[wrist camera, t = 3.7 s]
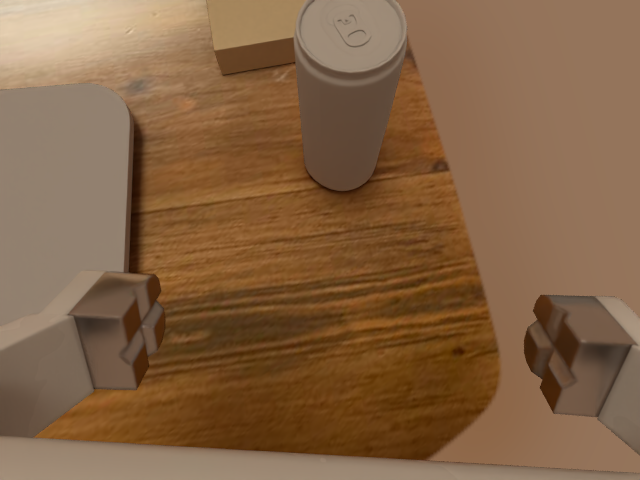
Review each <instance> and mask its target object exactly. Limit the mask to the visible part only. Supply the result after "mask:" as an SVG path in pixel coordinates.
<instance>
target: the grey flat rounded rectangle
mask: <svg viewBox="0 0 640 480" xmlns="http://www.w3.org/2000/svg"><path fill="white" fill-rule="evenodd" d="M133 149H134V121H133V117H132V114H131V112H130V109H129V108H128V106H127V105H126V104H125V102H124V101H123V99H122V98H121V97H120V96H119V95H118V94H117V93H116V92H114V91H113V90H111V89H109V88H107V87H105V86H102V85H98V84H92V83H79V84H66V85H54V86H41V87H28V88H16V89H3V90H0V326H2V325H5V324H7V323H10V322H12V321H14V320H17V319H19V318H21V317H24V316H26V315H28V314H31V313H33V314H39V313H40V312H41V311H42V310H43V309H44V308H45V307H46V306H47V305H48V304H49V303H50V302H51V301H52V300H53V299H54V298H55V297H56V296H57V295H58V294H59V293H60V292H61V291H62V290H63V289H64V288H65V287H66V286H67V285H68V284H69V283H70V282H71V281H72V280H73V279H74V278H75V277H76V276H77V275H78V274H79V273H80V272H81V271H84V270H103V271H116V272H129V252H130V226H131V201H132V175H133Z"/></svg>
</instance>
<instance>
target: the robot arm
mask: <svg viewBox="0 0 640 480" xmlns="http://www.w3.org/2000/svg"><path fill="white" fill-rule="evenodd" d="M160 293H161V287H160V282H159V278H158V277H157V276H156V275H155V274H144V273H130V272H116V271H103V270H84V271H81V272H80V273H79V274H78V275H77V276H76V277H75V278H74V279H73V280H72V281H71V282H70V283H69V284H68V285H67V286H66V287H65V288H64V289H63V290H62V291H61V292H60V293H59V294H58V295H57V296H56V297H55V298H54V299H53V300H52V301H51V302H50V303H49V304H48V305H47V306H46V307H45V308H44V309H43V310H42V311H41V312H40V313H39V314H33V313H31V314H28V315H26V316H24V317H21V318H19V319H17V320H14V321H12V322H10V323H7V324H5V325H2V326H0V480H640V473H628V472H610V471H594V470H593V471H592V470H576V469H560V468H544V467H527V466H511V465H510V466H509V465H493V464H476V463H460V462H444V461H427V460H410V459H392V458H375V457H357V456H340V455H322V454H305V453H287V452H270V451H252V450H235V449H218V448H200V447H183V446H166V445H149V444H131V443H114V442H97V441H80V440H62V439H45V438H33V437H34V436H36V435H37V434H38V433H40V432H41V431H42V430H44V429H45V428H46V427H48V426H49V425H50V424H51V423H53V422H54V421H55V420H57V419H58V418H59V417H61V416H62V415H63V414H65V413H66V412H67V411H69V410H70V409H71V408H73V407H74V406H75V405H77V404H78V403H79V402H80V401H82V400H83V399H84V398H86V397H87V396H88V395H90V394H91V393H92V392H94V389H114V390H137V388H138V386H139V385H140V383H141V381H142V379H143V377H144V375H145V373H146V371H147V370H148V368H149V361H148V357H149V356H150V355H152V354H153V353H155V352H157V351H158V349H159V347H160V345H161V343H162V340H163V336H164V331H165V312H164V308H163V307H162V306H161V305H160V304H159V303H158V302H157V300H156V299H157V298H158V296H159V294H160ZM533 312H534V314H535V316H536V318H537V319H538V320H536V321H535V322H534V323H533V324H531V325H530V326H529V327H528V328H527V331H526V335H525V339H524V354H525V358H526V361H527V364H528V366H529V368H530V370H531V372H533V373H534V374H536V375H537V376H538V377H540V378H541V379H542V383H541V386H540V389H541V391H542V393H543V395H544V396H545V398H546V400H547V402H548V404H549V406H550V407H551V410H552V411H553V413H554V414H565V415H578V416H589V417H598V420H599V421H600V422H601V423H602V424H604V425H605V426H606V427H607V428H608V429H610V430H611V431H612V432H613V433H614V434H615V435H616V436H618V437H619V438H620V439H621V440H622V441H624V442H625V443H626V444H627V445H628V446H629V447H631V448H632V449H633V450H634V451H635V452H637V453H638V454H639V455H640V318H639V317H638V316H637V315H636V314H635V313H634V312H633V311H632V310H631V309H630V308H629V306H628V305H627V304H626V303H625V302H624V301H623V300H622V299H619V298H617V297H613V296H560V295H540V297H539V298H538V299H537V301H536V303H535V307H534V309H533Z"/></svg>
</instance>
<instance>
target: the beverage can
mask: <svg viewBox="0 0 640 480" xmlns="http://www.w3.org/2000/svg"><path fill="white" fill-rule="evenodd" d="M406 32H407V24H406V18H405V15H404V13H403V11H402V9H401V7H400V5H399V4H398V3H397V2H396V0H306V1H305V2H304V4H303V6H302V7H301V9H300V11H299V12H298V16H297V20H296V29H295V33H294V50H295V62H296V73H297V84H298V95H299V107H300V118H301V129H302V140H303V151H304V163H305V166H306V169H307V171H308V173H309V174H310V175H311V176H312V178H313V179H314V180H316V181H317V182H318V183H320V184H321V185H323V186H325V187H327V188H329V189H332V190H337V191H348V190H352V189H355V188H358V187H360V186H361V185H363V184H364V183H366V182H367V180H368V179H369V178H370V177H371V176H372V174H373V171H374V169H375V166H376V163H377V159H378V155H379V152H380V148H381V145H382V141H383V137H384V134H385V130H386V127H387V123H388V119H389V115H390V112H391V108H392V104H393V100H394V96H395V92H396V88H397V84H398V80H399V76H400V73H401V69H402V65H403V61H404V57H405V51H406V45H407V37H406Z"/></svg>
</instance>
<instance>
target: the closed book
mask: <svg viewBox="0 0 640 480" xmlns="http://www.w3.org/2000/svg"><path fill="white" fill-rule="evenodd" d="M305 1H306V0H206V2H207V9H208V15H209V22H210V28H211V34H212V41H213V47H214V52H215V55H216V58H217V61H218V64H219V67H220V70H221V73H222V75H224V74H230V73H236V72H242V71H247V70H253V69H259V68H265V67H270V66H276V65H282V64H288V63H293V62H295V50H294V33H295V29H296V20H297V16H298V12H299V11H300V9H301V7H302V6H303V4H304V2H305Z"/></svg>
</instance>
